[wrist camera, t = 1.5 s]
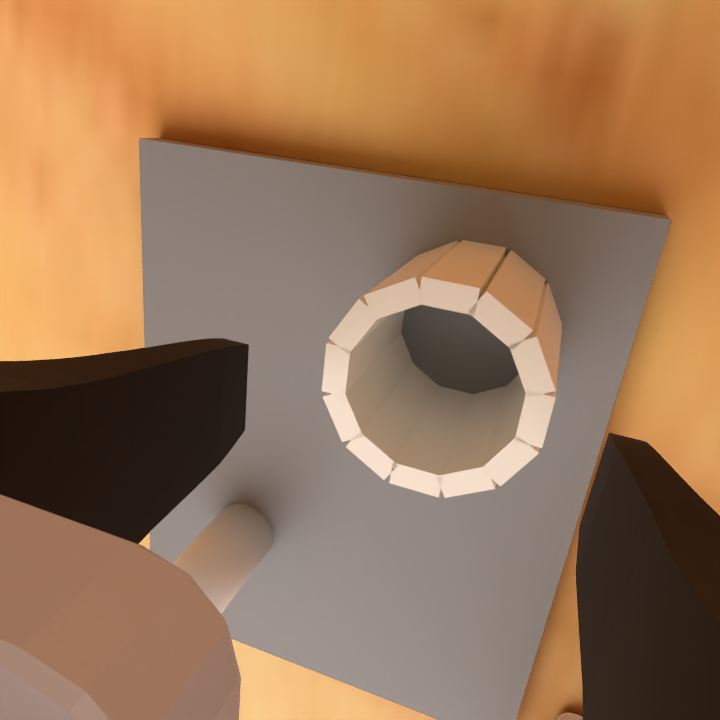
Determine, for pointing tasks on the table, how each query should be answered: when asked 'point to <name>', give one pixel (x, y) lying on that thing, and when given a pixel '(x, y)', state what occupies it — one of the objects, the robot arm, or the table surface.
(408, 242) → the duct board
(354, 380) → the sleeve
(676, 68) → the table surface
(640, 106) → the table surface
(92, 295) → the table surface
